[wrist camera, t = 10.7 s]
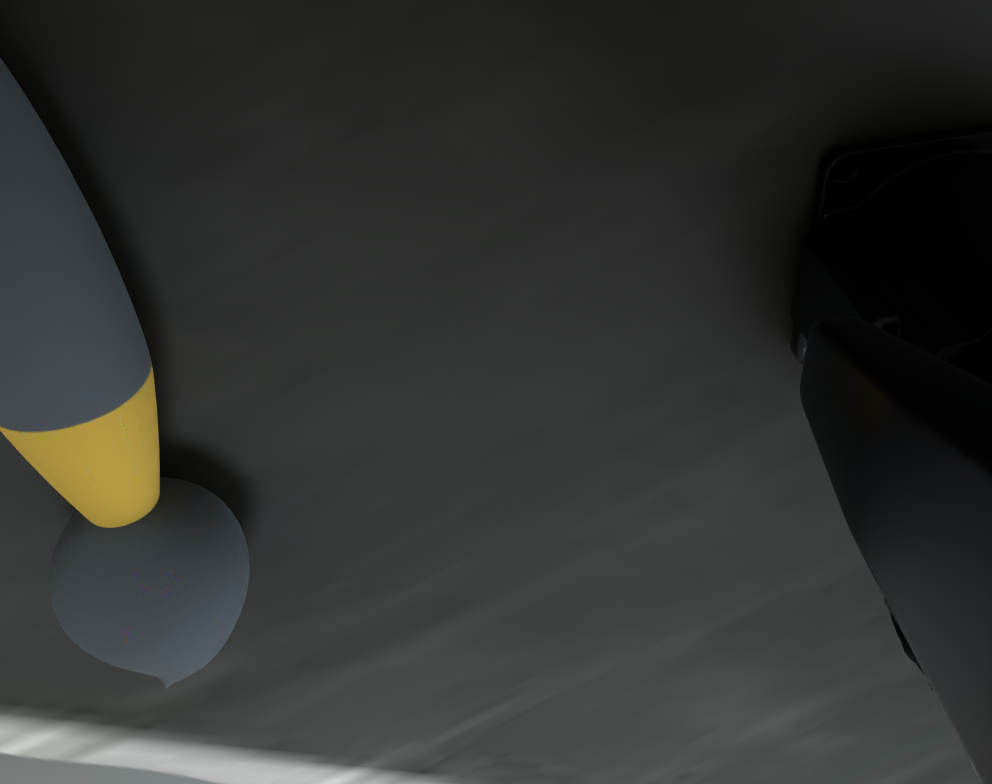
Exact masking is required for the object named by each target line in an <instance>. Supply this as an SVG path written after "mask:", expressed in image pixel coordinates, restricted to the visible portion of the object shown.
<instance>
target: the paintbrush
mask: <svg viewBox="0 0 992 784" xmlns="http://www.w3.org/2000/svg"><path fill="white" fill-rule="evenodd" d="M0 431H1V432H2V433H3V434H4V435H5V437H6V438H7V439H8V440H9V441H10V442H11V443H12V444H13V445H14V447H15V448H16V449H17V450H18V451H19V452H20V453H21V454H22V455H23V456H24V458H25V459H26V460H27V461H28V462H29V463H30V464H31V465H32V466H33V467H34V468H35V469H36V470H37V471H38V472H39V473H40V474H41V475H42V476H43V477H44V478H45V479H46V480H47V481H48V482H49V483H50V484H51V485H52V486H53V487H54V488H55V489H56V490H57V491H58V492H59V493H60V494H61V495H62V496H63V497H64V498H65V499H66V500H67V501H68V502H69V503H70V504H72V505H73V506H74V507H75V508H76V509H77V511H76V512H75V514H74V515H73V516H72V517H71V519H70V520H69V522H68V523H67V525H66V527H65V528H64V530H63V532H62V534H61V536H60V538H59V540H58V543H57V546H56V548H55V551H54V554H53V558H52V563H51V569H50V596H51V601H52V605H53V609H54V612H55V615H56V617H57V619H58V621H59V623H60V625H61V626H62V628H63V630H64V631H65V632H66V634H67V635H68V636H69V637H70V638H71V640H72V641H74V642H75V643H76V644H77V645H78V646H79V647H80V648H82V649H83V650H85V651H86V652H88V653H89V654H91V655H92V656H94V657H96V658H98V659H100V660H102V661H104V662H106V663H109V664H111V665H114V666H117V667H120V668H123V669H126V670H131V671H135V672H139V673H143V674H147V675H152V676H156V677H158V678H159V679H160V680H161V682H162V683H163V685H164V686H165V687H166V688H169V686H170V685H171V684H173V683H175V682H178V681H180V680H182V679H184V678H186V677H188V676H190V675H192V674H193V673H195V672H197V671H198V670H200V669H201V668H202V667H204V666H205V665H206V664H207V663H208V662H210V661H211V660H212V658H213V657H214V656H215V655H216V654H217V653H218V652H219V651H220V649H221V648H222V646H223V645H224V644H225V642H226V641H227V639H228V637H229V636H230V634H231V632H232V630H233V628H234V626H235V624H236V622H237V620H238V618H239V615H240V613H241V610H242V607H243V604H244V601H245V597H246V594H247V589H248V582H249V575H250V565H249V551H248V547H247V542H246V539H245V536H244V533H243V531H242V528H241V526H240V524H239V522H238V521H237V519H236V518H235V516H234V514H233V513H232V511H231V510H230V509H229V508H228V507H227V506H226V505H225V503H224V502H223V501H222V500H221V499H219V498H218V497H217V496H216V495H214V494H213V493H211V492H210V491H208V490H207V489H205V488H203V487H201V486H199V485H197V484H194V483H191V482H188V481H185V480H181V479H175V478H168V477H160V460H159V435H158V418H157V405H156V394H155V384H154V374H153V368H152V362H151V357H150V353H149V350H148V346H147V343H146V340H145V337H144V334H143V332H142V329H141V326H140V323H139V320H138V318H137V315H136V312H135V309H134V307H133V305H132V302H131V300H130V297H129V295H128V292H127V290H126V287H125V285H124V282H123V280H122V277H121V275H120V272H119V270H118V267H117V265H116V263H115V261H114V259H113V256H112V254H111V252H110V250H109V248H108V245H107V243H106V241H105V239H104V237H103V235H102V232H101V230H100V228H99V226H98V224H97V221H96V220H95V218H94V216H93V214H92V212H91V210H90V208H89V206H88V204H87V202H86V200H85V198H84V196H83V194H82V193H81V191H80V189H79V187H78V185H77V183H76V181H75V179H74V177H73V175H72V173H71V171H70V169H69V167H68V166H67V164H66V162H65V160H64V159H63V157H62V155H61V154H60V152H59V150H58V148H57V147H56V145H55V143H54V141H53V140H52V138H51V136H50V135H49V133H48V131H47V129H46V128H45V126H44V124H43V122H42V121H41V119H40V118H39V116H38V114H37V113H36V111H35V110H34V108H33V106H32V105H31V103H30V101H29V100H28V98H27V97H26V95H25V93H24V92H23V90H22V89H21V87H20V86H19V84H18V83H17V81H16V80H15V78H14V77H13V75H12V74H11V72H10V71H9V69H8V68H7V66H6V65H5V64H4V62H3V61H2V59H1V58H0Z"/></svg>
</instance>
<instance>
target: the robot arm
mask: <svg viewBox="0 0 992 784" xmlns="http://www.w3.org/2000/svg"><path fill="white" fill-rule="evenodd" d="M847 162H849V165H848V167H847V169H846V170H844V171H843V172H842V173H839V174H836V172H837V169H838V168H839V167H840V166H841V165H842V164H844V163H847ZM790 315H791V318H792V319H793V321H794V322H795V324H794V331H793V337H792V343H791V349H792V352H793V353H794V355H795V356H796V358H797V360H798V361H799V362H800V363H801V364H804V365H803V371H802V376H801V383H800V394H801V401H802V405H803V408H804V411H805V414H806V416H807V419H808V422H809V424H810V427H811V429H812V432H813V435H814V437H815V440H816V443H817V445H818V448H819V451H820V453H821V456H822V459H823V461H824V464H825V467H826V469H827V472H828V475H829V477H830V480H831V483H832V485H833V488H834V490H835V493H836V496H837V498H838V501H839V504H840V506H841V509H842V512H843V514H844V516H845V519H846V521H847V524H848V526H849V529H850V531H851V533H852V535H853V537H854V539H855V541H856V543H857V545H858V547H859V549H860V551H861V553H862V555H863V557H864V559H865V561H866V563H867V565H868V567H869V569H870V571H871V573H872V574H873V576H874V578H875V580H876V582H877V584H878V586H879V588H880V590H881V592H882V594H883V596H884V601H885V604H886V605H887V607H888V609H889V610H890V614H891V618H892V621H893V624H894V626H895V629H896V632H897V635H898V637H899V638H900V640H901V642H902V645H903V648H904V651H905V653H906V654H907V655H908V657H909V658H910V659H911V660H912V661H913V662H915V663H916V665H917V666H918V667H919V669H920V670H921V671H922V673H923V674H924V675H925V676H926V678H927V680H928V682H929V685H930V687H931V689H932V690H933V691H934V693H935V695H936V697H937V699H938V701H939V703H940V705H941V707H942V708H943V710H944V712H945V714H946V716H947V718H948V720H949V722H950V724H951V726H952V728H953V730H954V731H955V733H956V735H957V737H958V739H959V741H960V743H961V745H962V747H963V749H964V751H965V753H966V754H967V756H968V758H969V760H970V762H971V764H972V766H973V768H974V770H975V772H976V774H977V776H978V777H979V779H980V781H981V783H982V784H992V124H989V125H982V126H975V127H968V128H961V129H954V130H948V131H941V132H934V133H927V134H920V135H913V136H906V137H899V138H892V139H885V140H878V141H871V142H864V143H857V144H850V145H843V146H839V147H836V148H834V149H832V150H831V151H830V152H828V153H827V154H826V155H825V157H824V158H823V159H822V161H821V164H820V167H819V173H818V179H817V185H816V192H815V198H814V204H813V211H812V217H811V223H810V230H809V231H807V233H806V234H805V236H804V237H803V239H802V241H801V247H800V253H799V260H798V266H797V273H796V279H795V286H794V292H793V299H792V306H791V312H790Z"/></svg>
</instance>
